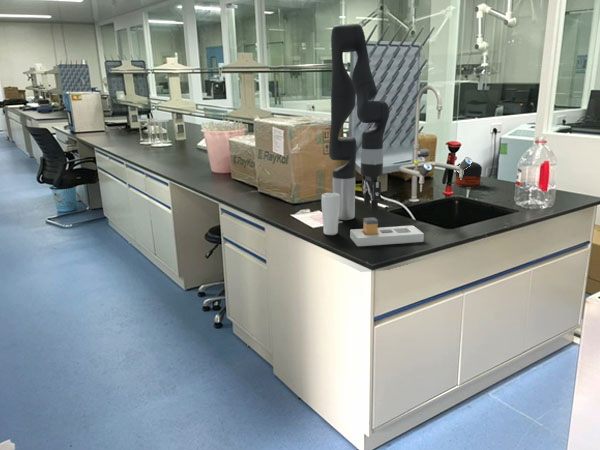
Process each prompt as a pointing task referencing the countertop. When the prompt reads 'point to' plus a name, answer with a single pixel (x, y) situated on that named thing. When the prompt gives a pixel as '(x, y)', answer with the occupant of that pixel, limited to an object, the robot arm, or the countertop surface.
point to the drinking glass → (330, 212)
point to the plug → (370, 226)
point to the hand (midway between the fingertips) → (370, 207)
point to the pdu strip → (387, 236)
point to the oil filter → (469, 176)
